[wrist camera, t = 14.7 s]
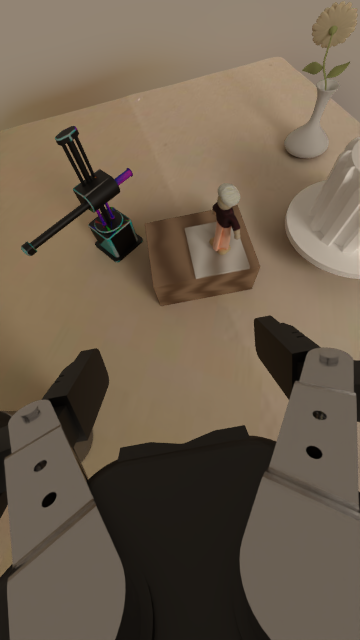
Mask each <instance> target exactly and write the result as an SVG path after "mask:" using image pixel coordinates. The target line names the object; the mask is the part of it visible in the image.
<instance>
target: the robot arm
mask: <svg viewBox="0 0 360 640" xmlns="http://www.w3.org/2000/svg"><path fill="white" fill-rule="evenodd" d="M254 332H255V347H256V352H257V355H258V357H259V359H260V360H261V361H262V363H263V364H264V366H265V367H266V368H267V370H268V371H269V373H270V374H271V375H272V377H273V378H274V380H275V381H276V382H277V384H278V385H279V387H280V388H281V389H282V391H283V392H284V393H285V395H286V396H287V398H288V399H289V403H288V406H287V409H286V412H285V416H284V419H283V422H282V426H281V429H280V432H279V436H278V439H277V442H276V441H273V440H271V439H267V438H263V437H258V436H249V435H248V432H247V430H246V427H245V425H243V426H237V427H232V428H227V429H221V430H216V431H212V432H210V433H208V434H205V435H203V436H201V437H198V438H196V439H194V440H191V441H189V442H187V443H184V444H172V443H154V442H150V443H144V444H139V445H133V446H128V447H122V448H120V452H119V457H118V460H116V461H114V462H112V463H110V464H108V465H106V466H105V467H103V468H102V469H100V470H99V471H98V472H97V473H95V474H94V475H93V476H92V477H91V478H90V479H88V477H87V474H86V472H85V470H84V468H83V466H82V464H81V461H82V460H83V459H84V458H85V457H86V455H87V454H88V452H89V450H90V448H91V444H92V437H93V433H92V428H93V425H94V423H95V420H96V417H97V415H98V412H99V409H100V407H101V404H102V401H103V399H104V396H105V393H106V391H107V388H108V385H109V377H108V373H107V370H106V367H105V365H104V362H103V359H102V356H101V354H100V351H99V350H98V349H97V348H96V349H90V350H85V351H81V352H80V354H79V355H78V356H77V358H76V359H75V361H74V362H72V363H71V364H70V365H69V366H67V367H66V368H65V369H64V370H63V371H62V372H61V374H60V375H59V377H58V378H57V379H56V381H55V383H53V385H52V386H51V387H50V389H49V390H48V391H47V393H46V394H45V395H44V397H43V398H42V400H38V401H35V402H32V403H30V404H28V405H26V406H24V407H23V408H21V409H20V410H19V411H0V518H1V516H2V514H3V512H4V511H5V509H6V507H7V505H8V511H9V523H10V534H11V546H12V558H13V564H12V565H11V566H10V567H9V568H8V569H7V570H6V572H5V573H4V574H3V575H2V576H1V577H0V640H360V492H359V491H358V450H357V422H360V361H356V360H353V358H352V357H351V356H350V355H349V354H348V353H346V352H344V351H341V350H338V349H334V348H321V347H319V346H318V345H317V344H315V343H314V342H313V341H312V340H310V339H309V338H308V337H306V336H305V335H304V334H302V333H301V332H299V330H297V329H296V328H295V327H293V326H291V325H288V324H285V323H279V322H278V321H277V320H275V319H274V318H273V317H272V316H265V317H260V318H255V319H254Z"/></svg>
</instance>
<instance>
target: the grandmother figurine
mask: <svg viewBox="0 0 360 640" xmlns="http://www.w3.org/2000/svg"><path fill="white" fill-rule="evenodd" d="M218 195H219V196H218V200H217V203H215V204H214V205H213V209H212V212H211V213H212V214H213V215H216V219H217V224H216V232H215V237H213V238H211V239H210V241H209V243H210V245H211V246H213V249H214V250H215V251H217V253H218V254H220V255H225V254H226V253H227V252H228V251H229V250H230V249H231V247H230V245H229V243H230V237H231V227H232V229H233V232H234V238H235V239H236V240H238V239H240V237H241V236H240V228H241V227H240V225H239V222H238V220H237V218H236V216H235V215H234V210H233V208H232V206H235V205H236V204H237V203H239V200H240V193H239V191H238V190H237V188H236V187H235V186H233V185H232V184H228V183H224V184H222V185H220V186H219V188H218Z"/></svg>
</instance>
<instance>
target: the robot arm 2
mask: <svg viewBox="0 0 360 640" xmlns="http://www.w3.org/2000/svg"><path fill="white" fill-rule="evenodd" d="M78 134H79V132H78V130H77V128H76V127H75V126H71V127H69V128H67V129H65V130H63V131H61V132H60V133H59V134H58V135H57V136H56V137H55V140H56V142H57V143H58V145H61V146H62V147H63V149H64V151H65V153H66V155H67V157H68V159H69V161H70V162H71V164H72V166H73V168H74V170H75V172H76V174H77V176H78V178H79V180H80V182H81V183H80V184H78V185H77V186H76V187H74V188H73V191H74V193H75V194H76V196H77V198H78V199H79V201H80V203H81V205H80V206H78V207H77V208H76V209H74V210H73V211H72V212H70V213H69V214H68V215H66V216H65V217H64V218H62V219H61V220H60V221H58V222H57V223H56V224H54V225H53V226H52V227H51V228H49V229H48V230H47V231H45V232H44V233H43V234H41V235H40V236H39V237H37V238H36V239H35V240H33V241H32V242H31V243H28V242H26V243H25V244H23V245H22V246H21V250H22V251H23V252H24V253H25V254H27V255H28V256H32V255H34V254H35V253H36V252H37V250H36V249H37V248H38V247H39V246H41V245H42V244H43V243H45V242H46V241H47V240H48V239H50V238H51V237H52V236H54V235H55V234H56V233H58V232H59V231H60V230H61V229H63V228H64V227H65V226H67V225H68V224H69V223H71V222H72V221H73V220H74V219H76V218H77V217H78V216H80V215H81V214H82V213H84V212H85V211H86V210H87V209H89V210H90V211H92V212H95V211H96V212H97V214H98V217H97V218H95V219H94V220H93V221H92V222H90V223H89V227H90V229H91V231H92V232H93V234H94V236H95V237H96V239H97V242H96V243H95V245H96V247H98V248H99V249H100V250H101V251H103V252H104V253H105V254H106V255H107V256H109V257H110V258H111V259H112V260H114V261H115V262H120V261H121V260H122V259H123V258H124V257H125V256H127V255H128V254H129V253H130V252H131V251H132V250H134V249H135V248H136V247H137V246H138V245H139V244H140V243H142V241H143V239H142V237H140V236H139V235H137V234H136V233H135V230H134V228H133V225H132V222H131V220H130V219H129V218H128V217H126V216H125V215H124V214H122V213H121V212H119V211H118V210H116V209H115V208H114V207H109V205H108V203H107V202H108V201H109V200H111V199H112V198H113V197H115V196H116V195H117V194H118V193H120V188H119V185H120V184H121V183H123V182H124V181H125V180H126V179H128V178H129V177H130V176H131V177H132V176H133V173H132V171H131V170H130V169H129V168H127V170H126V171H125V172H123V173H122V174H121V175H119V176H118V177H117V178H115V179H113V178H112V177H111V176H110V175H108V174H107V173H105V172H103V171H102V170H100V169H99V170H98V171H96V172H95V173H94V172H93V170H92V167H91V165H90V163H89V161H88V159H87V156H86V154H85V152H84V150H83V148H82V145H81V143H80V141H79V139H78ZM73 139H75V141H76V143H77V145H78V147H79V149H80V151H81V154H82V156H83V158H84V160H85V162H86V164H87V166H88V169H89V171H90V173H91V176H90V175H89V173H88V171H87V169H86V167H85V164H84V162H83V160H82V158H81V156H80V154H79V152H78V150H77V148H76V145H75V143H74V141H73ZM66 143H67V144H68V146H69V148H70V150H71V152H72V154H73V156H74V158H75V160H76V162H77V164H78V166H79V168H80V170H81V172H82V174H83V176H84V178H85V180H83V178H82V176H81V174H80V173H79V171H78V169H77V167H76V165H75V163H74V161H73V159H72V157H71V155H70V153H69V151H68V149H67V147H66V145H65V144H66ZM104 204H105V205H106V207H107V210H106V209H105V207H104ZM99 208H100V210H101V212H102V213H101V214H100V212H99V210H98V209H99Z"/></svg>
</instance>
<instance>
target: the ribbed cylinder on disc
mask: <svg viewBox="0 0 360 640" xmlns="http://www.w3.org/2000/svg"><path fill="white" fill-rule="evenodd" d="M285 230H286V234H287V236H288V239H289V241H290V242H291V244H292V246H293V247H294V248H295V250H296V251H297V252H298V253H299V254H300V255H301V256H302V257H303V258H305V259H306V260H307V261H309V262H310V263H311V264H313V265H315V266H316V267H318V268H320V269H322V270H325V271H327V272H329V273H332V274H335V275H339V276H343V277H348V278H355V279H360V137H356V138H355V139H353V140H352V141H351V142H349V144H348V145H347V146H346V148H345V150H344V151H343V152H342V153H341V154H340V155H339V157H338V159H337V160H336V162H335V164H334V166H333V168H332V170H331V172H330V174H329V176H328V177H327V179H326V180H324V181H320V182H317V183H314V184H312V185H310V186H308V187H306V188H305V189H303V190H302V191H300V192H299V193H298V194H297V195H296V196H295V197H294V198H293V200H292V201H291V203H290V205H289V208H288V210H287V213H286V216H285Z"/></svg>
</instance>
